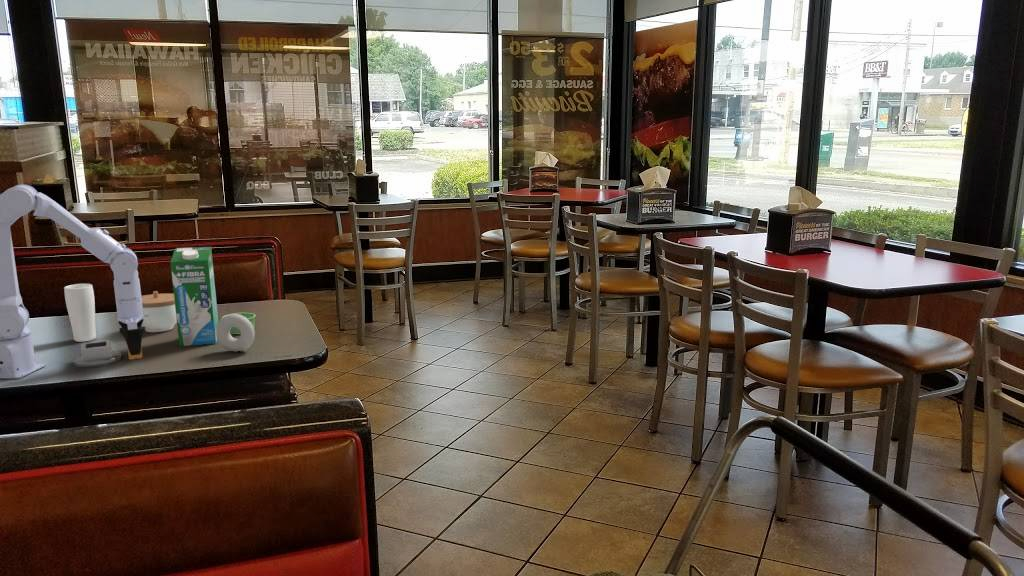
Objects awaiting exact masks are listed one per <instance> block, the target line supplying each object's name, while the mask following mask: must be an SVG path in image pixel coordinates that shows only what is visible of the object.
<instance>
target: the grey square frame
mask: <svg viewBox="0 0 1024 576" xmlns="http://www.w3.org/2000/svg"><path fill="white" fill-rule="evenodd" d="M80 345H81V346H80V352H81V353H80V354H81V355H77V356H76V357H75V358H74V359H73V360H74V365H75V367H77V368H84V369H85V368H99V367H103V366H109V365H113V364H115V363H117V362H119V361H121V360H122V356H121V355H122V353H121V352H120V351H117V350H113V348H112V341H111V339H108V340H107V339H106V340H99V341H91V342H90V341H89V342H83V343H82V342H81V344H80Z"/></svg>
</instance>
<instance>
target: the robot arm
mask: <svg viewBox="0 0 1024 576" xmlns="http://www.w3.org/2000/svg"><path fill="white" fill-rule="evenodd" d="M32 211H34V212H33V215H32V216H35V217H43V218H49V219H50V220H52V221H54V222H55V223H56V224H58V225H59V226H60V227H62V228H64V229H65V230H66V231H69V232H70V233H72V234H73V235H74V236H76V237H77V238H79V239H80V246H81V247H82V248H84V250H86V251H87V252H88V253H91V254H92V255H93V256H95V257H96V258H97V259H99V260H100V261H101V262H103V263H105V264H109V266H110V269H111V271H112V272H113V279H114V280H113V288H114V290H113V291H114V298H115V305H116V313H117V316H116V320H117V321H118V324H119V326H120V327H119V329H118V330H119V332H120V334H121V335H122V337H123V338H124V341H125V342H126V346H127V350H128V349H129V352H130V354H131V355H138V354H140V353H141V348H142V342H143V341H142V340H143V335H144V333H145V332H146V330H145V326H143V327H141V326H142V323H143V321H144V320H143V318H144V317H149V313H143V306H142V298H141V296H142V291H141V284H140V283H141V282H140V278H139V271H138V266H139V262H138V257H137V255H136V253H135V252H133V250H132V249H131V248H128V247H127V246H126V245H125V243H122V244H121V242H118V241H117V240H116V239H114V238H113V237H112V236H110V235H109V234H110V232H109V231H107V230H106V229H103V230H102V229H101V228H99V227H95V228H94V227H93V228H92V227H91V228H90V227H89V226H88V225H86V224H85V223H83V222H82V221H81V220H80V219H78V218H77V217H76V216H75V215H74V214H72V213H71V212H69V211H68V210H67V209H66V208H64V207H63V206H62V205H61V204H59V203H58V202H56V201H55V200H53V199H52V198H51V197H49V196H48V195H47V194H44V193H42V192H41V191H40V192H38V191H37V189H35V187H33V186H31V185H29V184H16V185H14V186H13V187H9V188H7V189H6V190H4V192H2V193H0V379H21V378H23V377H25V376H27V375H30V374H31V373H33V372H35V371H38V370H39V369H41V368H44V367H45V366H46V364H45V363H37V362H36V356H35V350H34V349H35V348H34V343H33V335H32V330H30V328H28V326H27V324H28V322H29V319H30V314H29V311H28V309H27V308H26V307H25V306H24V303H23V297H22V296H21V293H20V288H19V286H20V285H19V281H18V275H17V266H16V260H15V252H14V246H13V245H14V244H13V239H12V231H11V226H12V225H13V224H14V223H16V222H17V220H18V219H20V218H21V217H22V216H23V217H24V216H25V215H27V214H29V213H30V212H32Z"/></svg>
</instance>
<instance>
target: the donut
mask: <svg viewBox="0 0 1024 576" xmlns="http://www.w3.org/2000/svg"><path fill="white" fill-rule="evenodd" d="M229 314H230V315H228V314H226V315H227V316H225V315H224V316H225V317H223V316H222V317H223V318H222V317H221V319H219V320H218V325H217V327H216V335H217V342H219V344H220V345H221V346H222V347H223V348H224V349H226V350H227V351H230V352H233V351H234V352H233V353H238V352H237V351H240V352H244V351H246V350H247V349H249V348H250V346H252V344H253V343H254V341H255V335H256V333H255V329H254V327H253V325H252V324H251V322H250V321H249V320H248V319H247V318H246V317H244V316H242V315H239V314H233V313H229ZM232 327H237V328H238V329H239V330H240V332H241V334H240V335H239V338H235V337H233V335H232V334H230V329H231V328H232Z"/></svg>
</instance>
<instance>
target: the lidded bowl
mask: <svg viewBox="0 0 1024 576" xmlns="http://www.w3.org/2000/svg"><path fill="white" fill-rule="evenodd" d="M141 298H142V306H143V313H149V317H144V318H143V320H144V321H143V323H142V326H141V327H143V326H145V332H147V333H162V332H167V331H170V330H173V329H174V327H175V325H177V319H176V309H175V300H174V293H159V291H157V290H155V291H154V290H153V292H152V293H151V294H145V295H141Z"/></svg>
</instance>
